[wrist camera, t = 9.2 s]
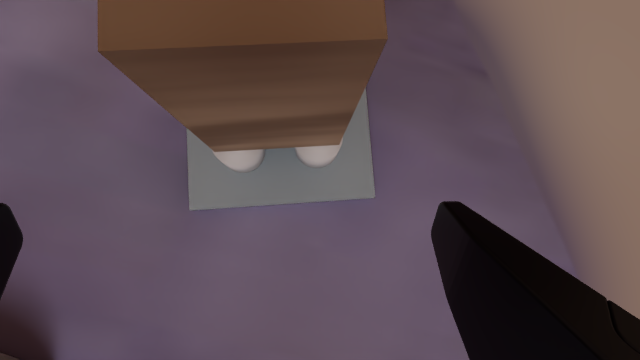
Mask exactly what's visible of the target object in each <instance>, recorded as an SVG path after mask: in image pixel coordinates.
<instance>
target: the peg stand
mask: <svg viewBox="0 0 640 360" xmlns="http://www.w3.org/2000/svg"><path fill="white" fill-rule="evenodd" d="M187 155H188V186H189V210H207V209H222V208H236V207H251V206H266V205H280V204H295V203H310V202H325V201H339V200H354V199H369V198H375V190H374V178H373V167H372V155H371V143H370V132H369V120H368V109H367V97H366V87H365V89H364V92H363V94H362V96H361V98H360V100H359V103H358V105H357V107H356V109H355V111H354V113H353V116H352V118H351V120H350V122H349V124H348V127H347V129H346V131H345V133H344V135H343V137H342V140H341V142H340V144H339V145H329V146H311V147H294V148H277V149H259V150H242V151H224V152H214V151H213V150H212V149H211V148H209V147H208V146H207V145H206V144H205V143H204V142H202V141H201V140H200V139H199V138H198V137H197V136H196V135H194V134H193V133H192V132H191V131H190V130H189V129H187Z"/></svg>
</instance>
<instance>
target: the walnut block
mask: <svg viewBox="0 0 640 360" xmlns="http://www.w3.org/2000/svg"><path fill="white" fill-rule="evenodd" d="M387 39H388V37H387V26H386V15H385V4H384V0H98V52H99V53H100V54H102V55H103V56H104V57H105V58H106V59H107V60H109V61H110V62H111V63H112V64H113V65H114V66H116V67H117V68H118V69H119V70H120V71H121V72H122V73H124V74H125V75H126V76H127V77H128V78H129V79H131V80H132V81H133V82H134V83H135V84H136V85H138V86H139V87H140V88H141V89H142V90H143V91H145V92H146V93H147V94H148V95H149V96H150V97H151V98H153V99H154V100H155V101H156V102H157V103H158V104H160V105H161V106H162V107H163V108H164V109H165V110H167V111H168V112H169V113H170V114H171V115H172V116H173V117H175V118H176V119H177V120H178V121H179V122H180V123H182V124H183V125H184V126H185V127H186V128H187V129H189V130H190V131H191V132H192V133H193V134H194V135H196V136H197V137H198V138H199V139H200V140H201V141H202V142H204V143H205V144H206V145H207V146H208V147H209V148H211V149H212V150H213V151H214V152H224V151H242V150H259V149H277V148H294V147H311V146H329V145H339V144H340V142H341V140H342V137H343V135H344V133H345V131H346V129H347V127H348V124H349V122H350V120H351V118H352V116H353V113H354V111H355V109H356V107H357V105H358V103H359V100H360V98H361V96H362V94H363V92H364V89H365V87H366V85H367V83H368V81H369V78H370V76H371V74H372V72H373V70H374V68H375V65H376V63H377V61H378V59H379V57H380V54H381V52H382V50H383V48H384V46H385V44H386V41H387Z"/></svg>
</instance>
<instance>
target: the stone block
mask: <svg viewBox="0 0 640 360" xmlns="http://www.w3.org/2000/svg"><path fill="white" fill-rule="evenodd" d="M0 360H20V359H18V358H15V357H12V356H9V355H6V354H3V353H0Z"/></svg>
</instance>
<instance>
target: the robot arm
mask: <svg viewBox="0 0 640 360" xmlns="http://www.w3.org/2000/svg"><path fill="white" fill-rule="evenodd" d="M431 238H432V243H433V247H434V251H435V255H436V258H437V262H438V266H439V270H440V274H441V278H442V282H443V286H444V290H445V294H446V297H447V300H448V303H449V306H450V309H451V311H452V314H453V317H454V319H455V322H456V325H457V327H458V330H459V333H460V335H461V338H462V341H463V343H464V346H465V349H466V351H467V354H468V357H469V359H470V360H640V319H638V318H636V317H635V316H633V315H631V314H630V313H629V312H627V311H625V310H624V309H622V308H621V307H620V306H618V305H616V304H615V303H613V302H612V301H610V300H609V301H607V299H606V298H605V297H604V296H603V295H601V294H600V293H598V292H596V291H595V290H593V289H592V288H590V287H589V286H587V285H586V284H584V283H583V282H581V281H580V280H578V279H577V278H575V277H574V276H572V275H571V274H569V273H568V272H566V271H565V270H563V269H561V268H560V267H558V266H557V265H555V264H554V263H552V262H551V261H549V260H548V259H546V258H545V257H543V256H542V255H540V254H539V253H537V252H536V251H534V250H533V249H531V248H529V247H528V246H526V245H525V244H523V243H522V242H520V241H519V240H517V239H516V238H514V237H513V236H511V235H510V234H508V233H507V232H505V231H504V230H502V229H501V228H499V227H497V226H496V225H494V224H493V223H491V222H490V221H488V220H487V219H485V218H484V217H482V216H481V215H479V214H478V213H476V212H475V211H473V210H472V209H470V208H469V207H467V206H465V205H464V204H462V203H461V202H458V201H444V202H441V203H440V205H439V206H438V209H437V213H436V216H435V219H434V222H433V226H432V230H431ZM22 243H23V235H22V232H21V230H20V228H19V226H18V223H17V221H16V219H15V217H14V215H13V213H12V211H11V209H10V207H9V206H8V205H6V204H4V203H0V299H1V297H2V294H3V292H4V289H5V287H6V284H7V282H8V279H9V277H10V274H11V272H12V269H13V267H14V264H15V262H16V259H17V257H18V254H19V252H20V249H21V247H22Z"/></svg>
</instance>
